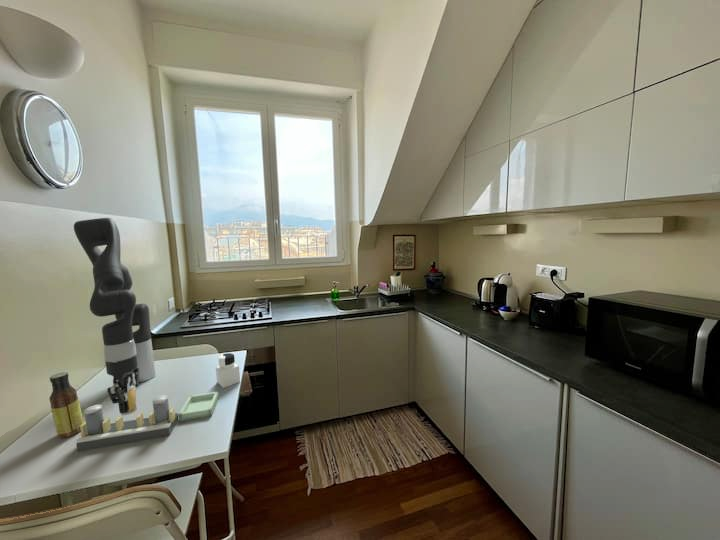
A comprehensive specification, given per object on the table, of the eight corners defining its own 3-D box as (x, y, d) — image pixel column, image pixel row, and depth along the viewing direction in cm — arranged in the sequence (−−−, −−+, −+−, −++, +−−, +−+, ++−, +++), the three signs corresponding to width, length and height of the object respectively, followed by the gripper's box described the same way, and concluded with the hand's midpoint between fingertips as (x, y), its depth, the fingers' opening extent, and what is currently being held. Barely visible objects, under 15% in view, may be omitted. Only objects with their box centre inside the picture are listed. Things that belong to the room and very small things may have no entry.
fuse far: (158, 419, 97) (155, 396, 96) (172, 417, 98) (169, 394, 97) (153, 426, 93) (150, 403, 92) (167, 424, 94) (164, 400, 93)
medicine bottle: (233, 376, 130) (231, 350, 129) (240, 381, 125) (238, 354, 124) (216, 382, 125) (214, 355, 124) (223, 388, 120) (220, 360, 119)
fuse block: (93, 433, 94) (90, 416, 93) (179, 419, 100) (177, 403, 99) (76, 451, 86) (73, 432, 86) (170, 435, 92) (168, 417, 92)
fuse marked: (124, 408, 94) (121, 385, 93) (139, 406, 95) (136, 383, 94) (117, 416, 90) (114, 391, 89) (133, 414, 91) (129, 389, 90)
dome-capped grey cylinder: (93, 429, 92) (89, 405, 91) (108, 427, 93) (104, 403, 92) (84, 438, 88) (80, 413, 87) (100, 435, 89) (96, 411, 88)
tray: (189, 402, 111) (189, 395, 110) (218, 397, 113) (218, 391, 113) (179, 421, 99) (178, 414, 99) (211, 416, 102) (210, 409, 101)
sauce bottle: (82, 423, 100) (73, 367, 97) (86, 431, 96) (76, 372, 93) (54, 434, 95) (44, 375, 92) (57, 442, 91) (46, 381, 88)
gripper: (119, 348, 96) (125, 397, 98) (91, 367, 82) (100, 424, 85) (145, 345, 98) (151, 394, 100) (123, 363, 84) (130, 419, 86)
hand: (128, 407), depth 92 cm, fingers closed on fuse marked, 4 cm apart
